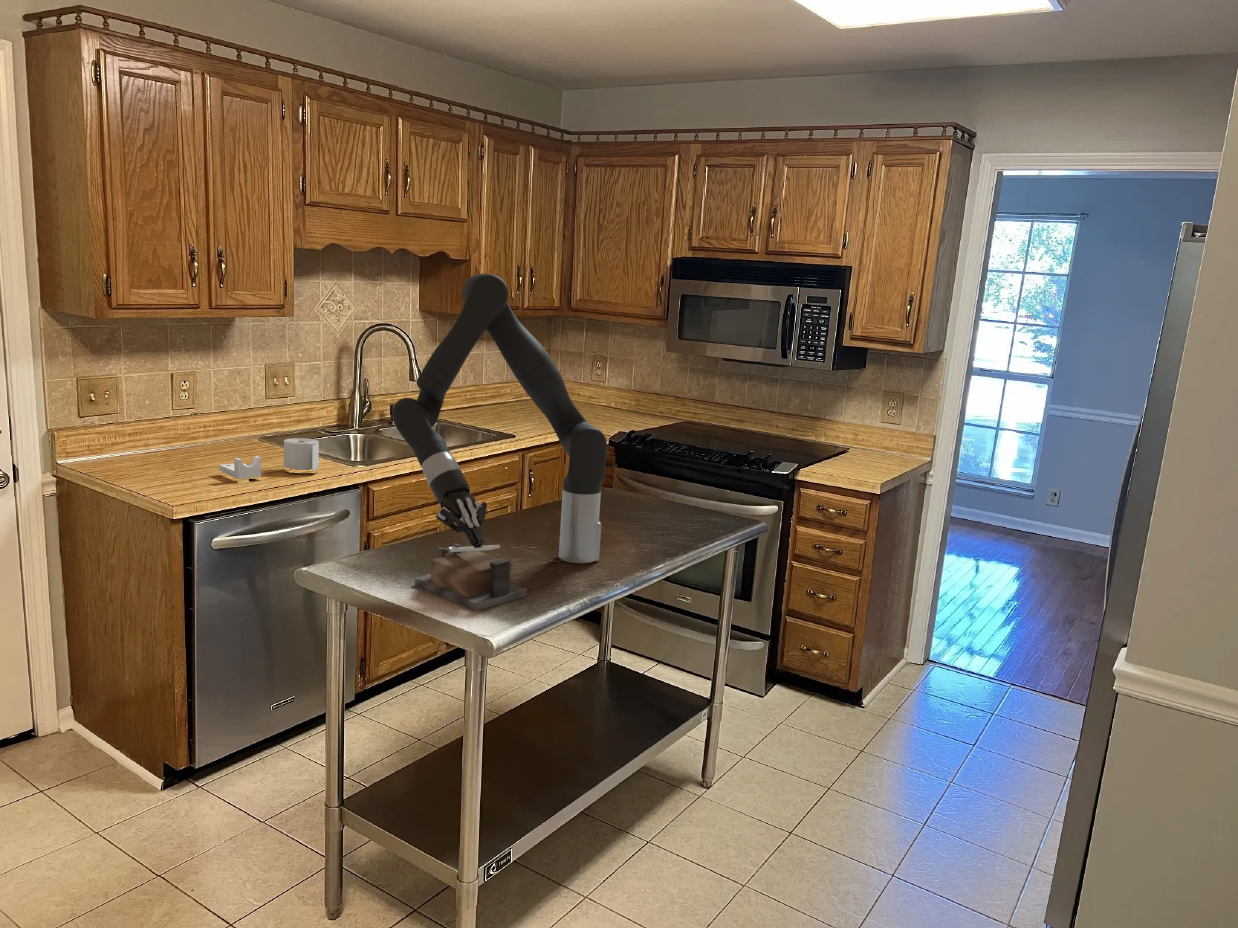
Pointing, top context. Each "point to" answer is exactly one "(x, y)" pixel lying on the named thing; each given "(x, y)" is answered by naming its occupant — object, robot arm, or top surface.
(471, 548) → the strap
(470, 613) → the top surface
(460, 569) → the latch block
